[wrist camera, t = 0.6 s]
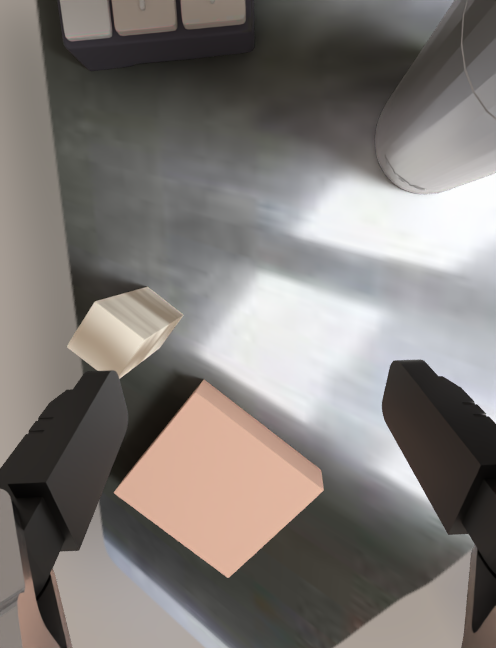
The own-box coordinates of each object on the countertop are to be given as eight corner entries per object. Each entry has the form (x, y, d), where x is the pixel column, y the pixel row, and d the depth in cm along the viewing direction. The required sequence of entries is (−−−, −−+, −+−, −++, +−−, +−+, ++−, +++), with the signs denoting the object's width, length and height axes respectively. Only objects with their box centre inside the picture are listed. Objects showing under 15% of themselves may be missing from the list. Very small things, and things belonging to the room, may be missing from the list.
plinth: (203, 379, 34) (195, 391, 31) (321, 470, 35) (323, 490, 32) (127, 474, 38) (113, 492, 35) (233, 553, 39) (228, 578, 36)
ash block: (147, 286, 32) (94, 301, 24) (183, 314, 33) (144, 339, 24) (124, 321, 34) (66, 346, 25) (159, 348, 34) (114, 382, 25)
